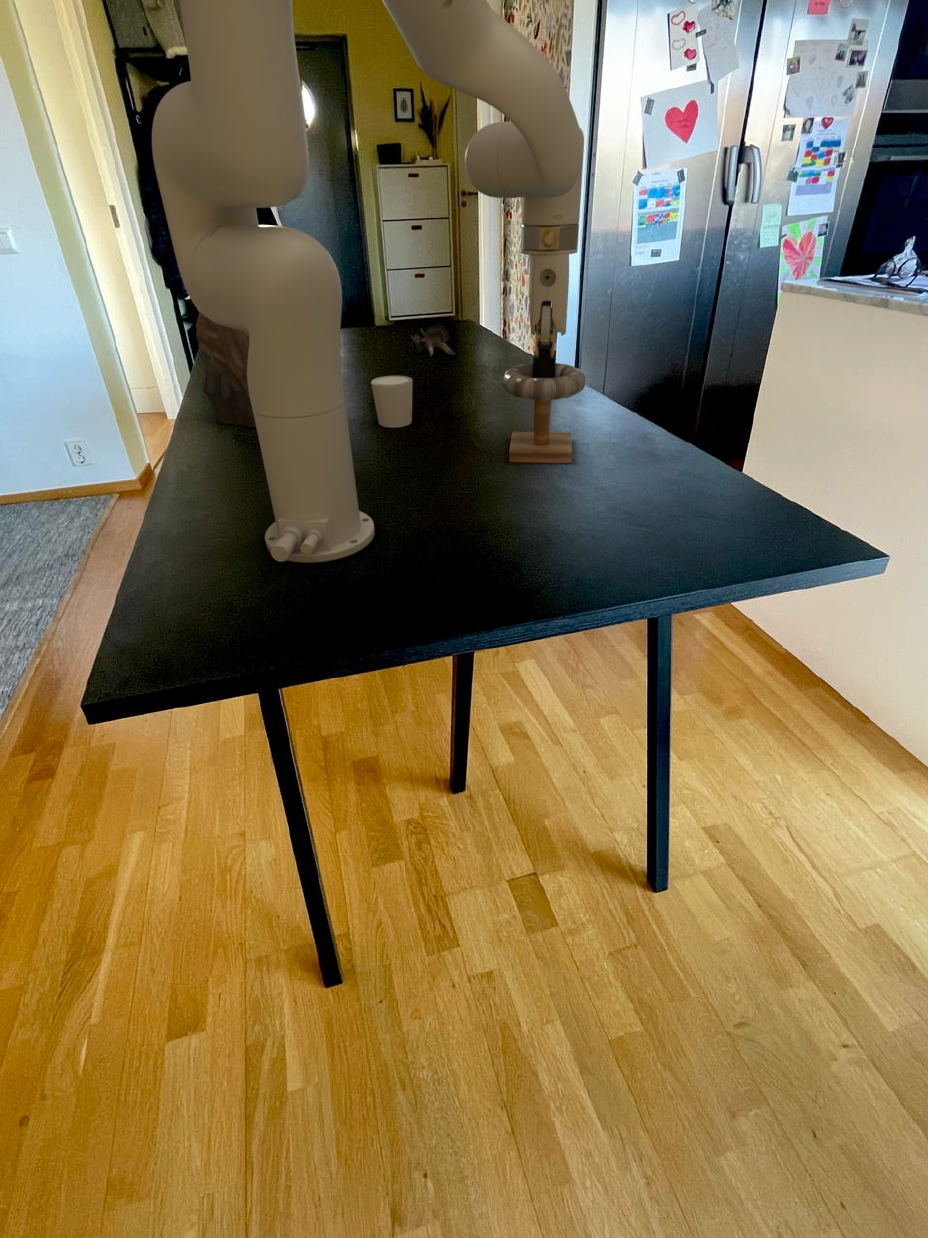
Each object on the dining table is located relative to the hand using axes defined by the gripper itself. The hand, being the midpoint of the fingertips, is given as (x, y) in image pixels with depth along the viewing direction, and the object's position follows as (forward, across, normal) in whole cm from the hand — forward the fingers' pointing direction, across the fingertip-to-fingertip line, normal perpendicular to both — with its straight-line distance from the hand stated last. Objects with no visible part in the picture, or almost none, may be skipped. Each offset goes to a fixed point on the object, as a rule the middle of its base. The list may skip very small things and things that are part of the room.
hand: (543, 381), depth 98 cm
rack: (+9, -4, 0) cm, 10 cm away
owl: (+9, +10, +50) cm, 52 cm away
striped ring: (-1, -4, 0) cm, 4 cm away
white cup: (+9, +9, +25) cm, 28 cm away
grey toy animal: (+9, +59, +26) cm, 65 cm away
